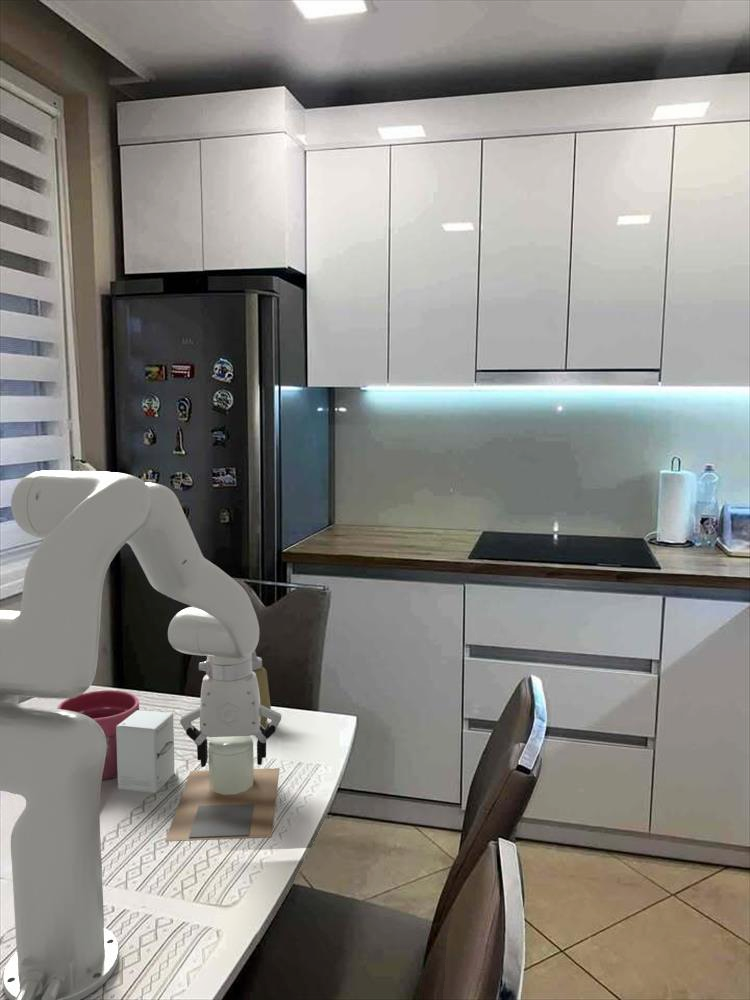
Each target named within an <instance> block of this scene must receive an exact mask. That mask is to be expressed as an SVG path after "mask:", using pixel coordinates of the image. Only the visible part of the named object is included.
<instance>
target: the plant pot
mask: <svg viewBox="0 0 750 1000" xmlns="http://www.w3.org/2000/svg"><path fill="white" fill-rule="evenodd" d="M56 709H62V710H69V711H73V712H77V713H80V714H83V715H86V716H88V717H90V718H92V719H93V720H94V721H96V722H97V723H98V724H99V725H100V727H101V728H102V730H103V732H104V734H105V738H106V757H105V763H104V769H103V774H102V781H106V780H111V779H113V778H114V777H118V772H117V739H116V726H117V725H119V724H120V723H121V722H122V721H124V720H125V719H126V718H128V717H129V716H130V715H132V714H133V713H134V712H135V711H137V710H140V701H139V698H138V697H137V696H136V695H135V694H133V693H131V692H129V691H128V692H127V691H125V690H124V691H122V690H117V689H116V690H115V689H114V690H113V689H112V690H111V689H109V690H107V689H106V690H103V689H102V690H94V691H88V692H84V693H83V694H81V695H79V696H77V697H75V698H70V699H64V700H63V701H61V702H60V703H59V704H58V706H57V707H56ZM102 781H101V782H102Z"/></svg>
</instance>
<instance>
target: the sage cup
mask: <svg viewBox="0 0 750 1000" xmlns="http://www.w3.org/2000/svg"><path fill="white" fill-rule="evenodd" d="M254 756H255V755H254V740H253V738H252V737H251V735H250V736H231V737H212V739H210V741H209V743H208V771H209V787H210V788H211V790H212V791H213V792H216V793H219V794H223V795H226V794H237V793H241V792H244V791H247V790H248V789H249V788H250V787H252V786H253V782H254V769H255V767H254V765H255V763H254V759H255V757H254Z"/></svg>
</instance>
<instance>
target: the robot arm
mask: <svg viewBox="0 0 750 1000" xmlns="http://www.w3.org/2000/svg"><path fill="white" fill-rule="evenodd" d="M12 492H13V493H12V495H11V499H10V509H11V514H12V517H13V520H14V521H15V523H16V524H17V526H18V527H19V528H20V529H21V530H22V531H23V532H25V533H26V534H29V535H30V536H33V537H35V538H40V539H41V538H43V540H42V541H40V543H39V545H38V546H37V547H36V548H35V551H34V552H33V554H32V555H31V557H30V559H29V561H28V564H27V567H26V570H25V573H24V578H23V579H24V580H23V586H22V596H21V603H20V610H10V609H9V610H7V609H0V791H1V792H5V793H10V794H14V795H18V796H22V797H23V798H24V799H25V807H24V809H23V811H22V812H21V814H20V815H19V817H18V818H17V820H16V821H15V823H14V825H13V827H12V830H11V834H10V857H11V869H12V870H11V874H12V890H13V892H12V893H13V907H14V908H13V909H14V926H15V944H16V945H15V946H16V948H15V949H16V952H15V953H14V954H13V955H12V956H11V958H10V959H9V961H8V962H7V964H6V966H5V968H4V971H3V977H2V978H3V979H2V985H3V992H4V994H5V996H6V998H7V999H8V1000H82V999H84V998H86V997H88V996H89V995H91V994H93V993H94V992H96V991H97V990H98V989H99V988H100V987H102V986H104V984H105V983H106V982H107V980H109V978H111V976H112V975H113V974H114V971H115V970H116V968H117V965H118V963H119V957H120V949H119V948H120V947H119V942H118V940H117V937H116V936H115V935H114V934H113V933H112V932H111V930H108V929H107V928H105V915H104V891H103V868H102V867H103V865H102V842H101V841H102V840H101V819H100V818H101V813H100V809H101V808H100V805H101V789H102V774H103V769H104V763H105V757H106V738H105V734H104V732H103V730H102V728H101V727H100V725H99V724H98V723H97V722H96V721H94V720H93V719H92V718H90V717H88V716H86V715H83V714H80V713H77V712H73V711H69V710H62V709H57V708H53V707H46V706H37V705H36V706H35V705H27V704H20V703H19V701H20V697H29V698H35V699H36V698H37V699H45V700H46V699H47V700H66V699H70V698H75V697H77V696H79V695H81V694H84V693H86V692H87V690H89V689H90V687H92V686H91V685H92V684H93V681H94V679H95V676H96V672H97V666H98V659H99V647H100V646H99V644H100V631H101V616H102V614H101V612H102V598H103V591H104V590H103V589H104V581H105V578H106V575H107V571H108V570H109V567H110V565H111V562H113V560H114V558H115V557H116V555H117V554H118V553H119V551H120V550H121V549H122V547H124V546H125V544H128V545H129V546H130V548H131V551H132V552H133V553H134V556H135V557H136V559H137V561H138V563H139V565H140V567H141V569H142V570H143V573H144V574H145V577H146V578H147V580H148V582H149V584H150V585H151V586H152V588H153V589H155V590H156V591H157V592H159V593H161V594H162V595H165V596H166V597H167V598H171V599H172V600H175V601H178V602H180V603H182V604H185V605H188V607H186V608H184V609H182V610H180V611H178V612H177V613H176V614H175V615H174V616H173V618H172V619H171V621H170V622H169V625H168V629H167V639H168V642H169V644H170V645H171V647H172V648H173V649H174V650H176V651H178V652H180V653H183V654H186V655H194V656H205V657H206V660H205V661H202V662H199V663H198V671H204V672H205V673H206V674H205V675H204V676H203V678H202V683H201V688H200V689H201V690H200V700H199V701H200V702H199V703H200V705H199V707H198V708H195V709H194V710H192V711H191V712H188V713H186V714H184V715H183V716H181V718H180V721H179V723H180V725H181V726H182V728H183V729H184V731H185V733H186V734H185V735H186V736H188V737H189V738H190V739H191V740H192V741H193V742H194V744H195V745H196V751H197V752H196V755H197V756H196V757H197V758H196V759H197V761H200V768H205V767H206V765H207V762H208V761H209V754H208V749H209V746H208V739H207V737H209V738H215V737H231V736H250V737H251V736H254V737H255V738H256V739H257V743H256V759H257V760H256V765H258V766H262V763H263V759H266V757H267V741H268V740H269V738H270V737H272V735H273V734H275V732H276V731H277V728H278V726H279V724H280V722H281V721H282V714H281V713H279V712H278V711H276V710H273V709H272V708H271V709H269V708H267V707H265V706H263V705H260V694H259V687H258V682H257V677H256V674H255V672H253V671H252V653H253V651H254V650H255V651H256V649H257V646H258V644H259V642H260V641H259V640H260V625H259V620H258V616H257V614H256V611H255V609H254V606H253V603H252V601H251V598H250V596H249V594H248V593H247V591H246V590H245V589H244V587H243V586H241V584H240V583H239V582H238V581H236V580H235V579H234V578H232V577H231V576H230V575H229V574H228V573H226V571H224V570H222V569H221V568H220V567H219V566H217V564H214V563H212V562H211V561H210V560H208V559H207V558H205V557H204V555H203V553H202V550H201V549H200V546H199V543H198V542H197V540H196V538H195V535H194V532H193V530H192V527H191V526H190V524H189V521H188V518H187V516H186V514H185V513H184V512H185V511H184V509H183V507H182V505H181V503H180V501H179V498H178V497H177V495H176V494H175V493H174V491H173V490H171V488H169V487H168V486H165V485H163V484H160V483H156V482H147V481H146V482H145V481H144V480H143V479H141V478H139V477H138V476H135V475H132V474H128V473H123V472H114V471H113V472H111V471H98V470H97V471H93V470H87V471H86V470H82V471H80V470H79V471H77V470H73V471H72V470H39V471H34V472H32V473H29V474H27V475H26V476H25V477H23V478H22V479H21V480H20V481H19V482H18V483H17V485H16V486H15V487H14V490H13V491H12ZM261 715H262V716H264V717H266V718H267V720H268V719H269V720H270V721H271V722H270V723H269V724H268V725H267V726H266V727H265V726H264V727H263V726H262V725H261V724H260V721H261ZM197 719H199V730H198V728H196V727H195V726H194V725H193V723H192V722H194V721H195V720H197Z"/></svg>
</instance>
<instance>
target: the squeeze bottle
mask: <svg viewBox="0 0 750 1000" xmlns="http://www.w3.org/2000/svg"><path fill="white" fill-rule="evenodd" d="M252 671H253V672H255V674H256V677H257V682H258V687H259V694H260V705H263V706H265V707H267V708H269V709H271V710H272V705H271V700H270V689H269V681H268V671H267V670H266V668H265V667H263V659H262V657H260V656H257V652H256V649H255V650H254V651H253V653H252ZM267 721H268V718H266V717H264V716H262V715H261V721H260V724H261V725H262V726H263V727H264V728H265V726H266V724H267Z"/></svg>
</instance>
